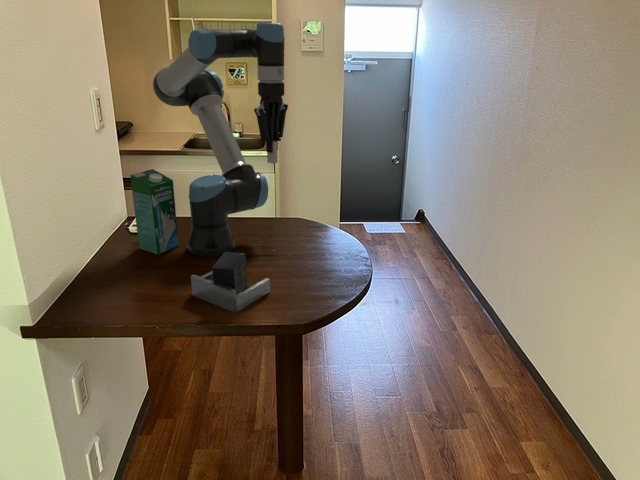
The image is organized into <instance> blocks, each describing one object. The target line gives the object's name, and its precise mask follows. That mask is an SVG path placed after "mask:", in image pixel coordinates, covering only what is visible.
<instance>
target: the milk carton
mask: <svg viewBox="0 0 640 480" xmlns="http://www.w3.org/2000/svg"><path fill="white" fill-rule="evenodd" d="M129 176H130V184H131V192H132V200H133V208H134V216H135V223H136V225H135V226H136V231H137V241H138V249H140V250H144V251H146V252H149V253H151V254H152V253H153V254H155V255H161V254H162V253H165V252H168V251H169V250H172V249H174V248H176V247H179V246H180V244H179V234H178V232H179V230H178V222H177V221H178V219H177V213H176V210H177V209H176V199H175V190H174V189H175V188H174V180H173V179H172V178H170V177H168V176H166V175H164V174H163V173H160V172H159V171H158V170H155V169H154V168H152V169H147V170H144V171H141V172H136V173H132V174H130V175H129Z"/></svg>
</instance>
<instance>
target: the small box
mask: <svg viewBox="0 0 640 480" xmlns="http://www.w3.org/2000/svg"><path fill="white" fill-rule="evenodd" d="M211 271H212V272H213V282H216V283H218V284H221V285H224V286H226V287H229V288H232V289H234V290H236V295H237V294H239V293H241V292H243V291H245V290H246V289H247V287H248V278H247V277H248V276H247V260H246V253H245V252H232V251H230V252H224V254H223V255H220V257H219V258H218V260H217V261H216V262H215V264H214V265H213V266H212V267H211Z"/></svg>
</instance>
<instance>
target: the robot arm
mask: <svg viewBox="0 0 640 480" xmlns="http://www.w3.org/2000/svg"><path fill="white" fill-rule="evenodd" d="M285 38H286V37H285V31H284V25H283V24H282V23H281V22H259V23H257V24H256V29H250V28H241V29H222V28H221V29H216V28H215V29H214V28H213V29H211V28H210V29H208V28H202V29H194V30H192V31H191V32H190V34H189V37H188V41H187V43H188V46H187V48H186V49H185V50H183V52H182V53H180V54H179V55H178V57H176V58H175V59H174V60H173V62H172V63H171V64H170V65H169V66H166V67H163V68H161V69H160V70H159V71H158V72H157V73H156V74H155V76H154V78H153V81H152V87H153V92H154V94H155V96H156V97H157V98H158V100H160V101H161V103H164V104H165V105H168V106H170V107H186V106H187V107H188V108H189V111H190V112H191V114H192V115H194V116H196V117H197V118H198V120H199V123H200V125H201V128H202V129H203V131H204V134H205V136H206V139H207V140H208V143H209V146H210V148H211V150H212V152H213V154H214V157H215V159H216V161H217V164H218V166H219V168H220V169H221V173H222V174H212V175H210V174H209V175H204V176H200V177H197V178H196V179H194V180H193V181H192V182H191V183H190V185H189V186H188V189H189V190H188V200H189V210H190V219H191V228H190V232H189V238H188V240H187V250H188V252H189V253H190V254H192V255H195V256H200V257H216V256H217V257H218V256H222V255H223V254H224V252H232V251H233V250H234V248H235V239H234V236H233V234H232V231H231V229H230V228H231V227H230V225H229V217H228V216H229V215H232V214H237V213H241V212H246V211H249V210H250V211H252V210H255V209H258V208H260V207H263V206H264V205H265V203H266V202H267V201H268V199H269V184H268V181H267V178H266V176H265V175H264V174H263V173H262V172H258V171H257V172H256V171H255V169H254V166H253V165H252V164H250V163H247V162H246V160H245V158H244V156H243V154H242V151H241V149H240V147H239V143H237V139H236V138H235V136H234V134H233V133H234V132H233V131H232V129H231V126H230V125H229V122H228V120H227V118H226V116H225V113H224V111H223V109H222V107H221V106H222V105H223V99H224V95H225V91H224V89H223V88H224V84H223V81H222V79H221V77H220V76H219V75H218V74H217V73H216V72H215V71H213V70H211V69H207V68H209V66H211V65H212V64H213V63H214V62H215V61H217V59H230V58H231V59H232V58H233V59H235V58H256V61H257V80H258V83H257V94H258V96H260V101H259V106H258V107H255V108H254V110H253V111H254V114H255V115H256V120H257V124H258V129H259V130H258V131H259V135H260V139H261V141H264V142H265V146H266V147H265V148H266V155H267V156H266V157H267V158H266V159H267V161H266V162H267V163H269V164H273V165H274V164H277V163H278V150H279V142H281V140H282V138H283V137H284V130H285V123H286V115H287V110H288V109H289V105H288V104H287V103H286V104H285V103H284V102H283V98H282V97H283V96H285V83H284V82H283V81H285Z"/></svg>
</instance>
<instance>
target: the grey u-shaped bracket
mask: <svg viewBox="0 0 640 480" xmlns="http://www.w3.org/2000/svg"><path fill="white" fill-rule="evenodd" d="M190 283H191V295H192V297H195V298H198V299H200V300H202V301H205V302H207V303H210V304H212V305H214V306H217V307H218V308H219V307H220V308H221V309H224V310H227V311H229V312H232V313H235V312H236V313H238V312H240V311H242V310H243V309H244V308H246V307H248V306H249V305H251V304H253V303H254V302H256V301H258V300H260V299H261V298H262V297H264V296H265V295H268V294H269V293H271V279H270V278H268V277H265V278H264V279H262V280H261V281H259V282H256V283H255V284H254V285H251V286H250V287H248V288H246V289H245V291H243V292H241V293H239V294H237V295H236V290H234V289H232V288H229V287H226V286H224V285H221V284H218V283H216V282H213V272H212V270H211V271H209V272H207V273H205V274H203V275H200V276H199V275H197V274H192V275H191V276H190Z"/></svg>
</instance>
